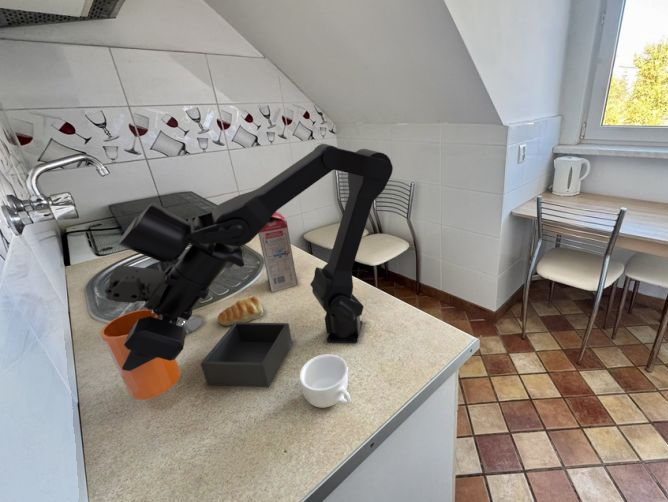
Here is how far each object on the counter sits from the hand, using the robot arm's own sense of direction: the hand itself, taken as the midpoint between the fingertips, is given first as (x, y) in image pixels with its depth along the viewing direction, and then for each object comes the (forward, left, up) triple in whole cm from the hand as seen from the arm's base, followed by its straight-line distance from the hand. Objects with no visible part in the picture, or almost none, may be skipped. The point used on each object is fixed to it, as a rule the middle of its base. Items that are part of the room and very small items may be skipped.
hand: (131, 353), depth 49 cm
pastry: (-3, -24, -11) cm, 26 cm away
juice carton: (-6, -39, -11) cm, 41 cm away
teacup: (-29, -2, -11) cm, 32 cm away
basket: (-12, -10, -11) cm, 19 cm away
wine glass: (+9, -20, -11) cm, 24 cm away
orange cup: (-1, -1, -7) cm, 7 cm away
